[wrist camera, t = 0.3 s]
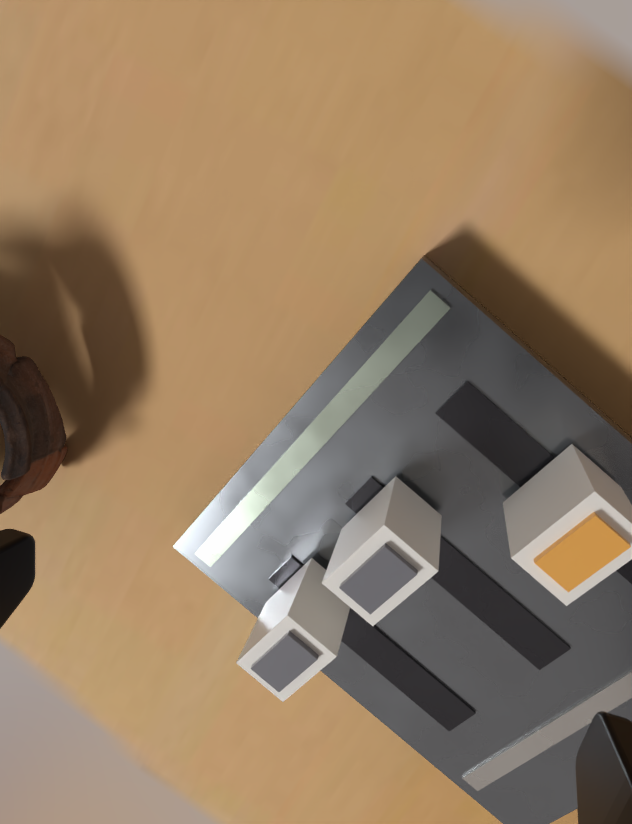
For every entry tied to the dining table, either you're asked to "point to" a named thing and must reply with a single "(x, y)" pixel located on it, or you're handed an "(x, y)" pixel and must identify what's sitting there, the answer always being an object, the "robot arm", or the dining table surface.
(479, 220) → the dining table surface
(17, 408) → the brown curved band frame
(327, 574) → the breaker
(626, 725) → the robot arm
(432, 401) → the panel
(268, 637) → the block
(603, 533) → the block
